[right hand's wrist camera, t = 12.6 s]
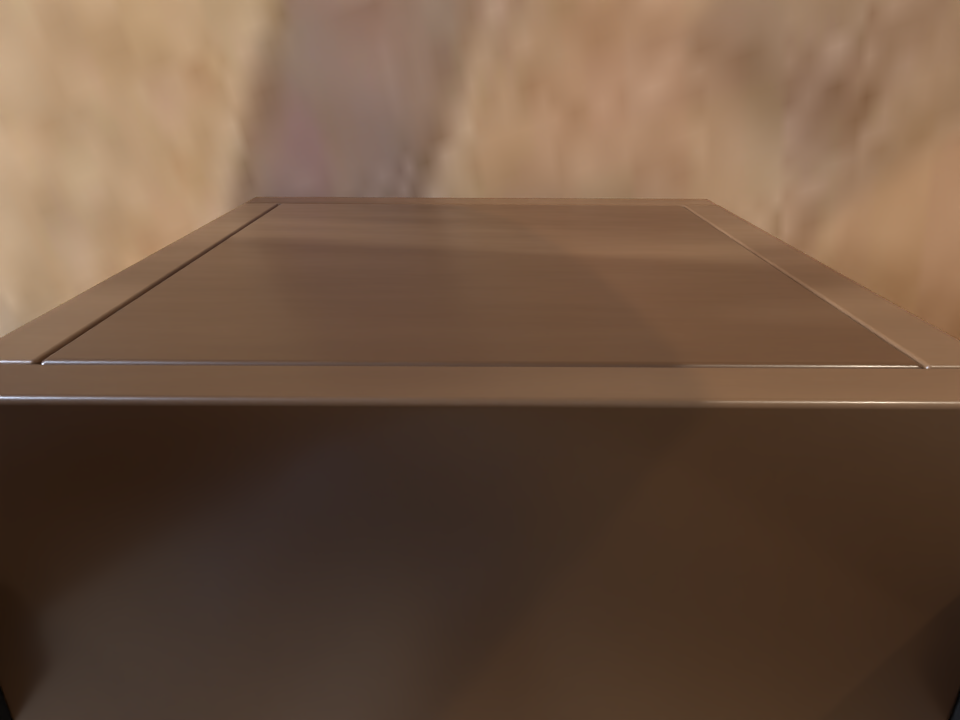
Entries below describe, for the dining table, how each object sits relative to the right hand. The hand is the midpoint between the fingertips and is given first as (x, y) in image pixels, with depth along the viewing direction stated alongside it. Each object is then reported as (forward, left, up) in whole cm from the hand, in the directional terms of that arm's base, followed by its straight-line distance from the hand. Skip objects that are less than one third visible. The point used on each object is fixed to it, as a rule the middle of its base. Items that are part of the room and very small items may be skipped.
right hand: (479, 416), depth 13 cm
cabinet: (+4, -6, -6) cm, 9 cm away
